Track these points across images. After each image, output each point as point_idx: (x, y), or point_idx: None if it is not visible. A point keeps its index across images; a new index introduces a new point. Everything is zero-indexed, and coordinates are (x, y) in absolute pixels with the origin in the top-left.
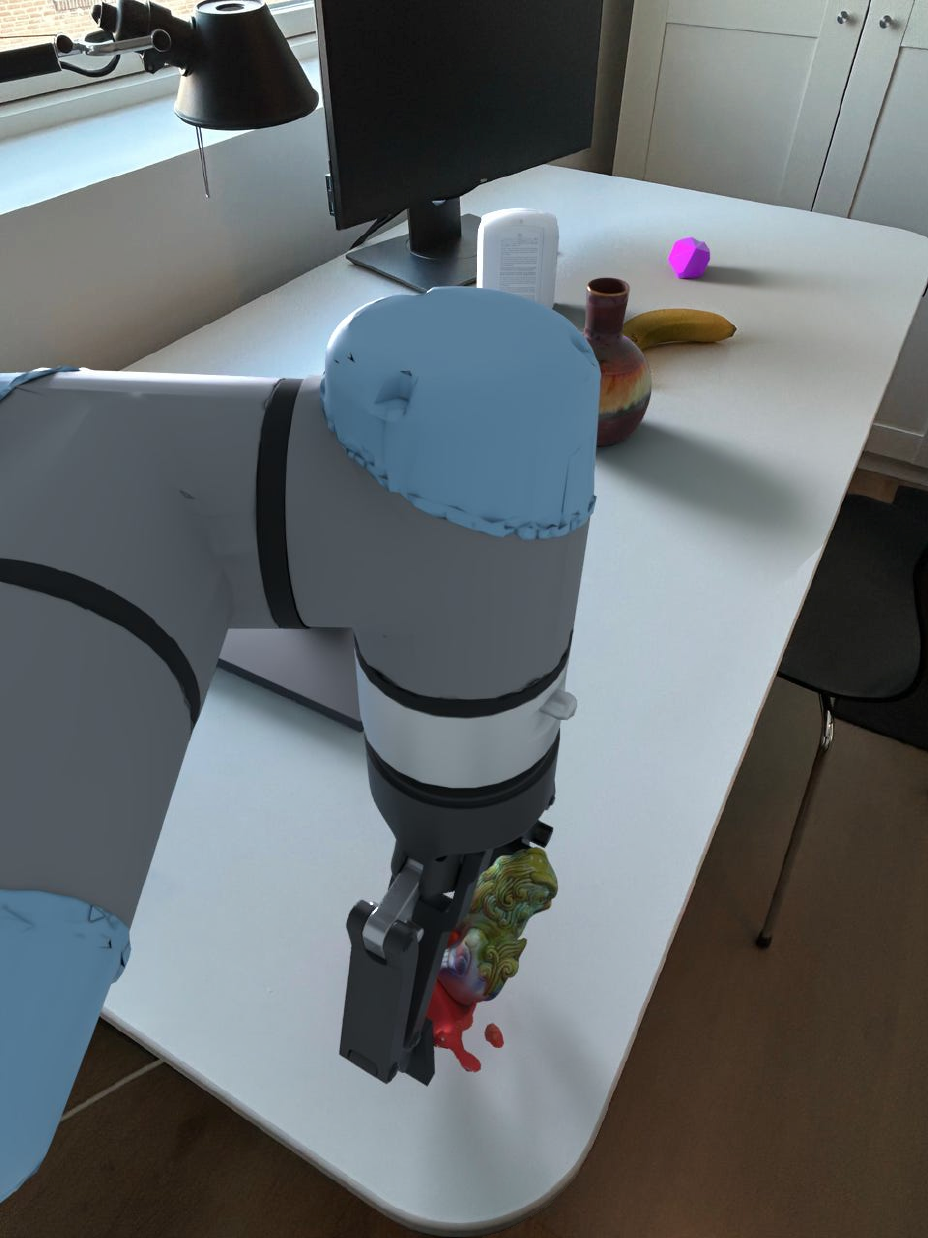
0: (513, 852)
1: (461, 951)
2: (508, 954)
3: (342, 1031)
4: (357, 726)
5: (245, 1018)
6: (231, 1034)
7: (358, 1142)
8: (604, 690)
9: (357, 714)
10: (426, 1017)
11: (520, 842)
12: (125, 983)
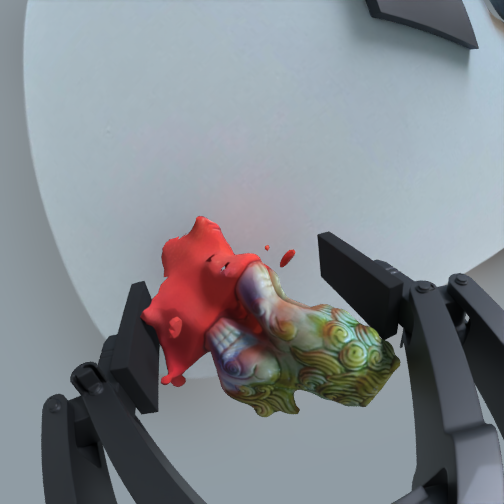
0: (384, 324)
1: (244, 365)
2: (274, 405)
3: (42, 441)
4: (374, 11)
5: (78, 138)
6: (62, 143)
7: (94, 288)
8: (480, 177)
9: (384, 7)
10: (154, 407)
11: (398, 322)
12: (41, 47)
